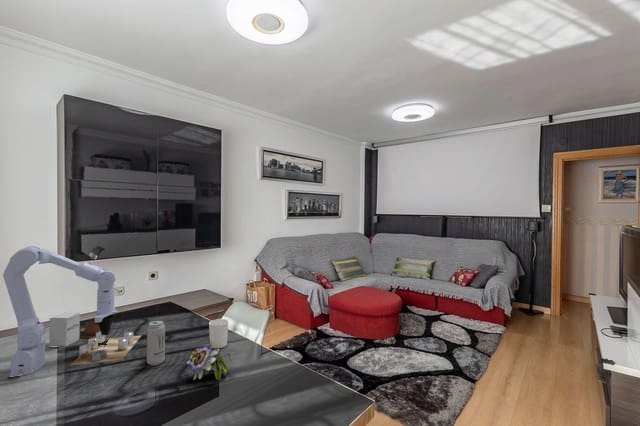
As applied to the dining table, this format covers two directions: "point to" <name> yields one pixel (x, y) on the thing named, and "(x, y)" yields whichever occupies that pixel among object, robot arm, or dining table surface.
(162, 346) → the energy drink can
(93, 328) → the cup and saucer
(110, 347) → the board
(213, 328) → the white cup
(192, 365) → the passion flower
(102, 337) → the spacers
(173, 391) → the dining table surface
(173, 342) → the dining table surface
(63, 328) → the supplement box
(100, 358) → the nut
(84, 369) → the dining table surface
